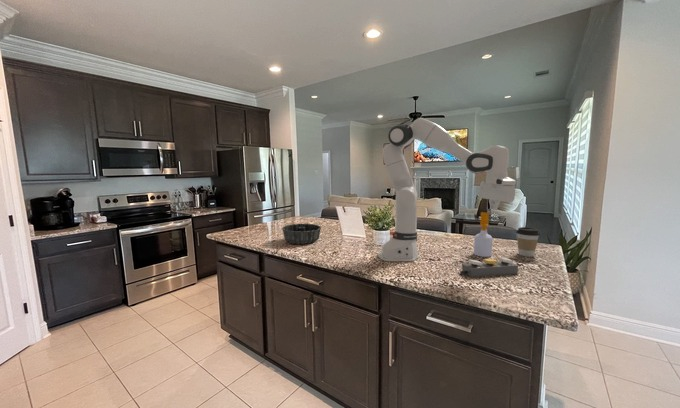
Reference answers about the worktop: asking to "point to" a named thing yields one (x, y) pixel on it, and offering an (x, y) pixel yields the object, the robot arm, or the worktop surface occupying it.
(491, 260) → the block
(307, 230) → the bundt pan
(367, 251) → the worktop surface
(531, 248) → the coffee cup
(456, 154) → the robot arm
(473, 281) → the worktop surface
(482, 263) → the block
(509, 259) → the plate
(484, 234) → the soap bottle
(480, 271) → the power strip
